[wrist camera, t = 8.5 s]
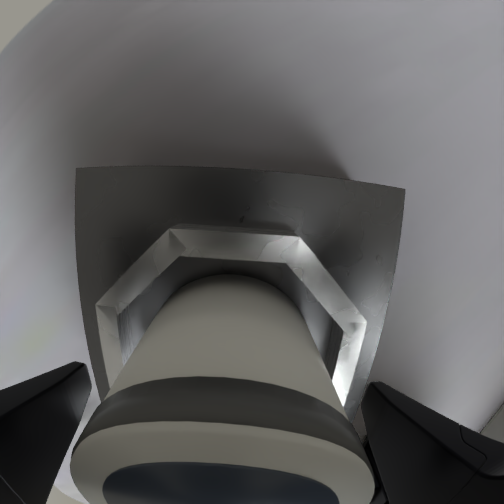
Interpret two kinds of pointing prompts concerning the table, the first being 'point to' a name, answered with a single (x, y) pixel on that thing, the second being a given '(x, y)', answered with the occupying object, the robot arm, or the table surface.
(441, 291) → the table surface
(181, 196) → the octagonal rim base plate
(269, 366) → the lens
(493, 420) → the kettle
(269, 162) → the table surface
